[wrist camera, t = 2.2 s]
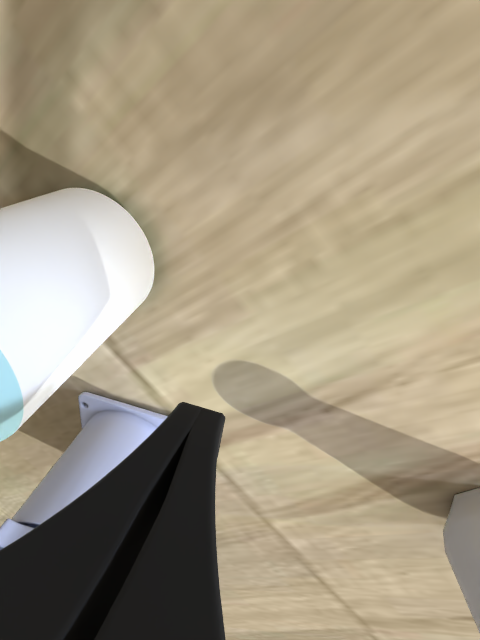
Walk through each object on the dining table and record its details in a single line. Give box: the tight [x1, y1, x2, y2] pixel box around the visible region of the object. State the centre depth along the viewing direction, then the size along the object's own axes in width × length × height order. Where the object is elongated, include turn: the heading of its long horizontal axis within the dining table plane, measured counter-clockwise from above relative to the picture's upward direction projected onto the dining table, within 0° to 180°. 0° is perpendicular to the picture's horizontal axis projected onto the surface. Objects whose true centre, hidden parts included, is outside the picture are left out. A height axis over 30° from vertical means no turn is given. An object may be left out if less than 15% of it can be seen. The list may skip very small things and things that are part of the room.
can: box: [0, 188, 154, 442], centre depth 15 cm, size 7×7×12 cm
